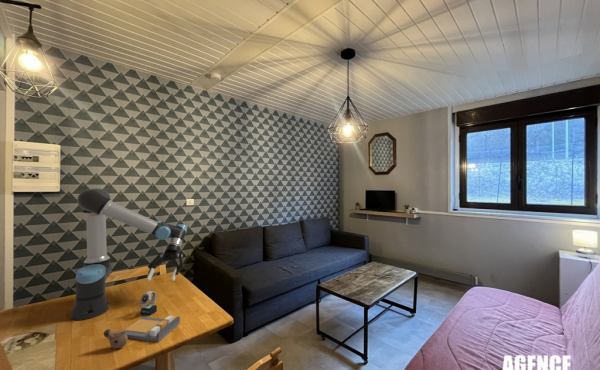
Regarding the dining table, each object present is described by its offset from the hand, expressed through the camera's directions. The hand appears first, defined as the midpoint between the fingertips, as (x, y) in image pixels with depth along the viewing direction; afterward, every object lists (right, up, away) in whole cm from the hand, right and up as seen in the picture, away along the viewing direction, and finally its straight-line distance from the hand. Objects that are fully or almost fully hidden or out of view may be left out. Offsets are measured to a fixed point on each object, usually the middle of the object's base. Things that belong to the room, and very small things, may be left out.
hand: (160, 280), depth 137 cm
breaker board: (+9, -14, -24) cm, 29 cm away
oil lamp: (+3, -14, -37) cm, 39 cm away
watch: (-1, -14, -10) cm, 17 cm away
